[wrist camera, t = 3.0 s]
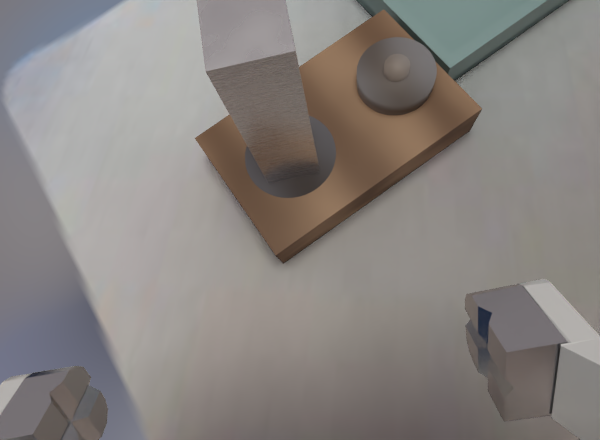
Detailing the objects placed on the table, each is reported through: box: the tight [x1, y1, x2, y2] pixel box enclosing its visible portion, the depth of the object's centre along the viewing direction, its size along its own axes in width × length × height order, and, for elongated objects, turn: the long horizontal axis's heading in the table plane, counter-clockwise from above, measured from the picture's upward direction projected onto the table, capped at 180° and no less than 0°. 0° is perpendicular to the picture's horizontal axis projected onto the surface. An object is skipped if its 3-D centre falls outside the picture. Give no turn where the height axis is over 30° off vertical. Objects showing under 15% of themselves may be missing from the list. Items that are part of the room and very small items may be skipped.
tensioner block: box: [195, 9, 482, 263], centre depth 28 cm, size 16×10×5 cm, turn 125°
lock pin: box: [197, 0, 320, 183], centre depth 22 cm, size 3×3×12 cm
